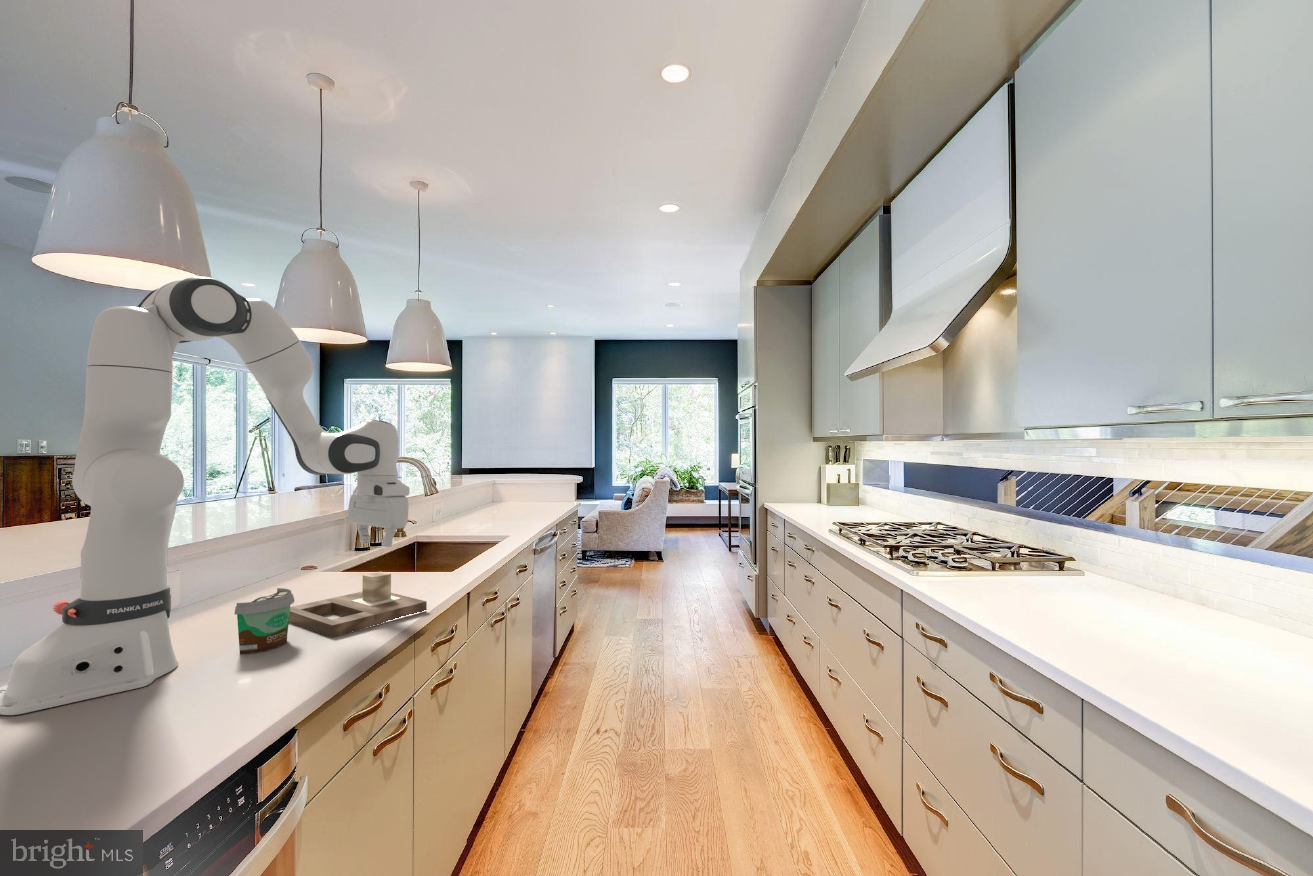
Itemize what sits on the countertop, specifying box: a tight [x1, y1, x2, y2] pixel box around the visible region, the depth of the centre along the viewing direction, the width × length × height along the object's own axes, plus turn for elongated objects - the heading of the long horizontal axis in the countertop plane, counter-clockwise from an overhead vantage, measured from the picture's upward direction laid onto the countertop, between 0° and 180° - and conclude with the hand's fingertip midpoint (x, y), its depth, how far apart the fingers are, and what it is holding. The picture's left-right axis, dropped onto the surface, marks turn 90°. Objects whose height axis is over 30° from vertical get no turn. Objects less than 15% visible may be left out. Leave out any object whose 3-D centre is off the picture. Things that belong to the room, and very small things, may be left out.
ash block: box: [362, 571, 392, 603], centre depth 137 cm, size 4×4×6 cm
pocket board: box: [289, 590, 428, 638], centre depth 133 cm, size 22×22×3 cm
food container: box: [234, 587, 295, 655], centre depth 113 cm, size 12×6×10 cm, turn 179°
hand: (375, 544), depth 137 cm, fingers open, 8 cm apart
